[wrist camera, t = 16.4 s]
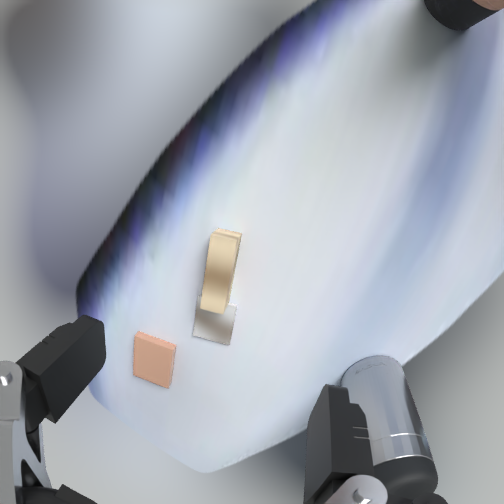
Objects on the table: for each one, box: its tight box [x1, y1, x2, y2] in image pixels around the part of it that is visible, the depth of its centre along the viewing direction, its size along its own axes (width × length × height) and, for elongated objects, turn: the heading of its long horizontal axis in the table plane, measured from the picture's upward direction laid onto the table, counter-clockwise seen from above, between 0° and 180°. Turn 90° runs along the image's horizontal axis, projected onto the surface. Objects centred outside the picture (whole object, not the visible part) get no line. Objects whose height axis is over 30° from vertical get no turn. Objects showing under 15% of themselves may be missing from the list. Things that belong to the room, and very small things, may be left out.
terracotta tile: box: [133, 331, 176, 388], centre depth 43 cm, size 2×6×8 cm
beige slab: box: [193, 228, 242, 345], centre depth 37 cm, size 15×5×3 cm, turn 169°
